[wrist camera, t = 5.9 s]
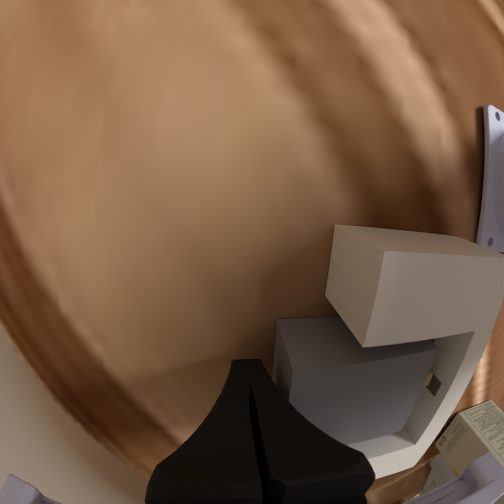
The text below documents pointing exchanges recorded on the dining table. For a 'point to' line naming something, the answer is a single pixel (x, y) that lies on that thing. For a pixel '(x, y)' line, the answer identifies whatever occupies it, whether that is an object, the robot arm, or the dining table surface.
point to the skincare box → (473, 437)
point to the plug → (348, 378)
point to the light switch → (438, 474)
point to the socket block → (416, 317)
